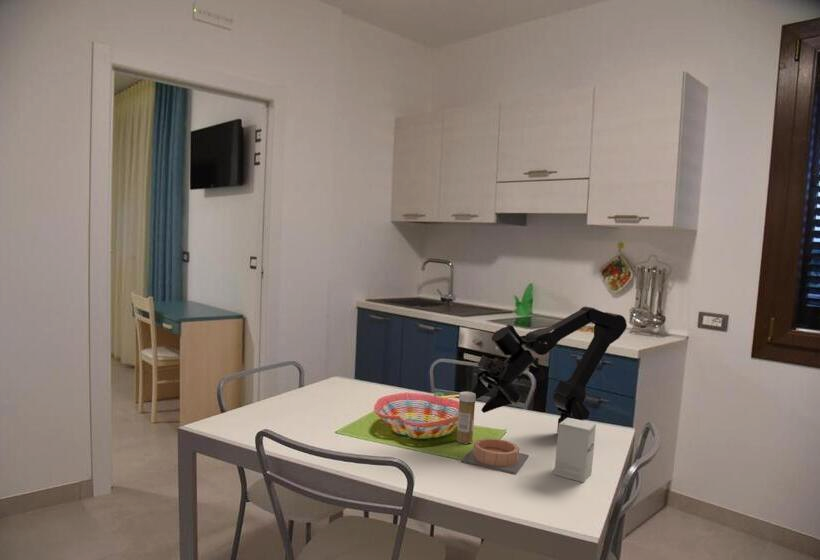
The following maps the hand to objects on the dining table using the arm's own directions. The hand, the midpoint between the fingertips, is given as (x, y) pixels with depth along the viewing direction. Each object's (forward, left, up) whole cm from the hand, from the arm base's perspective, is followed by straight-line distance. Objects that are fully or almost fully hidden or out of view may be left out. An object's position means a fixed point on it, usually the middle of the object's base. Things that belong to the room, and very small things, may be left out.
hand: (474, 406), depth 158 cm
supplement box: (-28, +9, -10) cm, 31 cm away
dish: (-9, +10, -10) cm, 16 cm away
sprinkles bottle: (+2, +2, -10) cm, 10 cm away
